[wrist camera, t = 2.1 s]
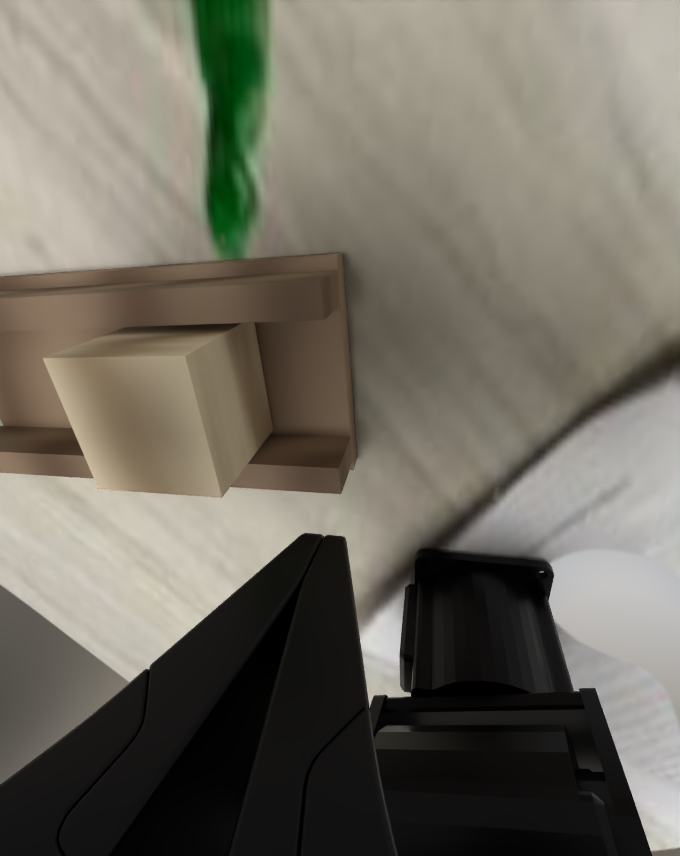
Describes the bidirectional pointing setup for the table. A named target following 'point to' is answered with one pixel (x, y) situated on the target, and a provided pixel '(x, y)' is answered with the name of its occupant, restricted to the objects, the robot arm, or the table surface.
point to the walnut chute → (190, 305)
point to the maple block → (166, 406)
